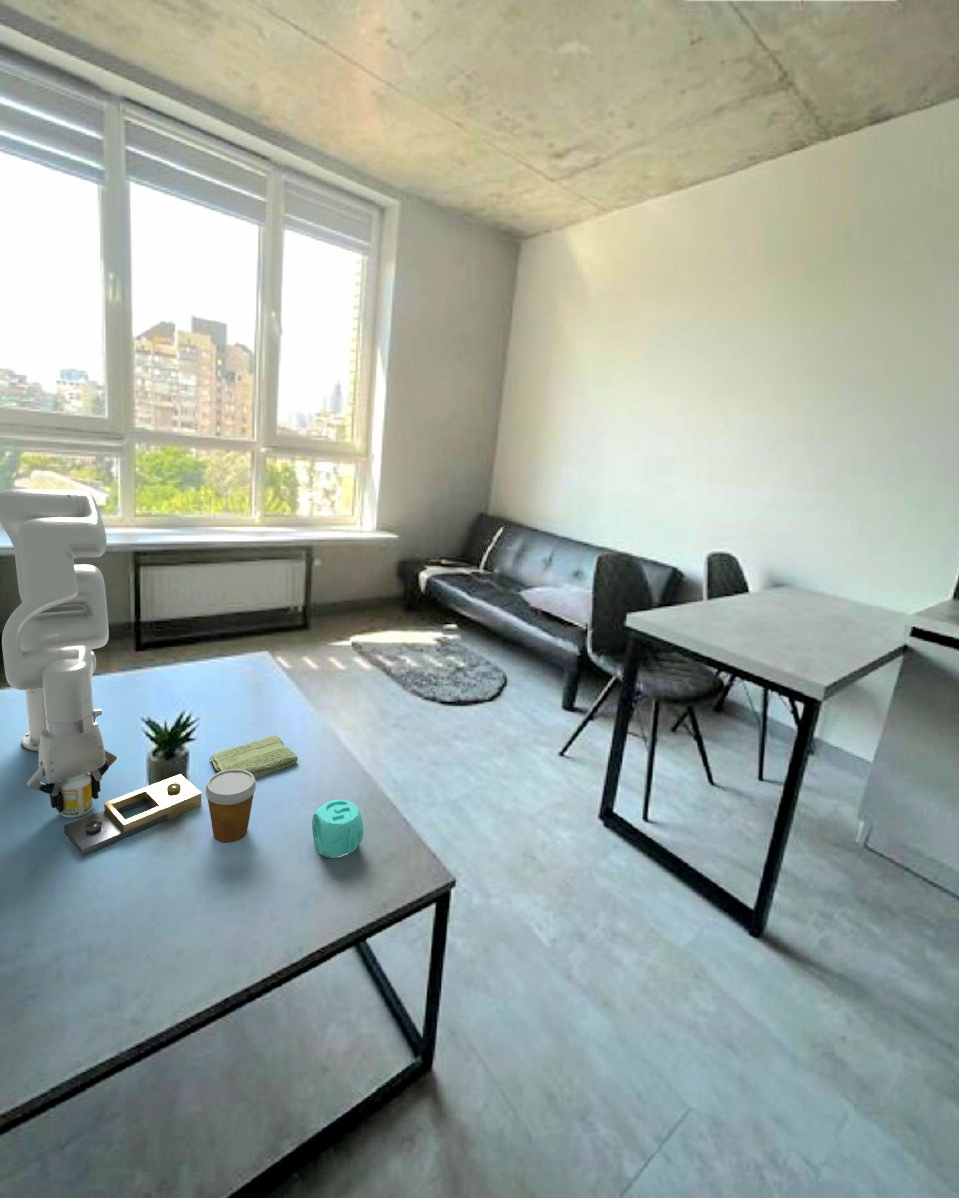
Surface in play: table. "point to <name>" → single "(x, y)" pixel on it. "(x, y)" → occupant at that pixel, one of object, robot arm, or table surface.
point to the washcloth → (256, 757)
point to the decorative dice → (337, 828)
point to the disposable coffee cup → (230, 803)
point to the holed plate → (112, 827)
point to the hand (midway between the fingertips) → (76, 801)
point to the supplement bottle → (77, 796)
